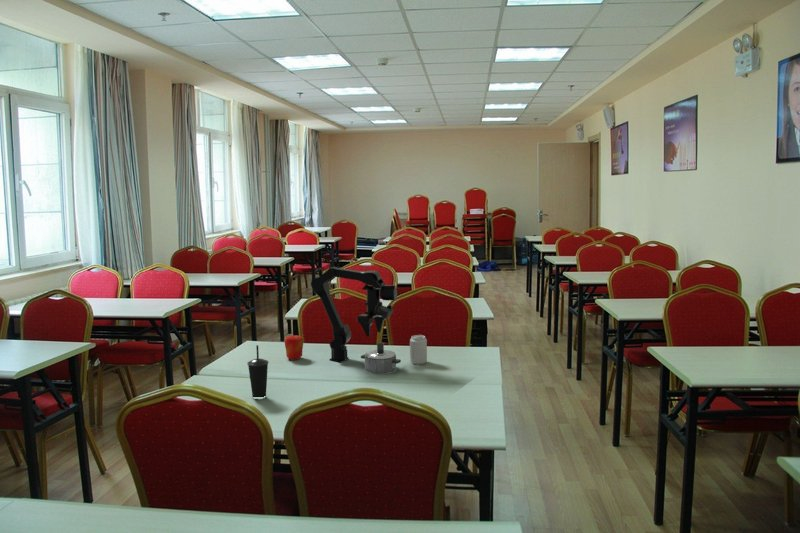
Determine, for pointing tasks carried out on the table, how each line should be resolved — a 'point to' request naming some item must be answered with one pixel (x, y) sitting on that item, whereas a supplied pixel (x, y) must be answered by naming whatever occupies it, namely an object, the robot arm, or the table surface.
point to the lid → (380, 353)
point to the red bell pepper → (293, 346)
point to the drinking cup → (258, 375)
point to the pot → (380, 365)
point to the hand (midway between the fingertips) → (373, 334)
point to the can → (418, 349)
